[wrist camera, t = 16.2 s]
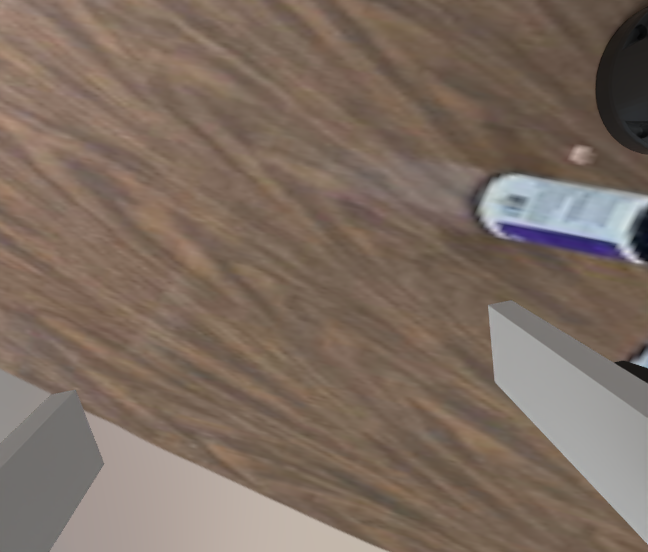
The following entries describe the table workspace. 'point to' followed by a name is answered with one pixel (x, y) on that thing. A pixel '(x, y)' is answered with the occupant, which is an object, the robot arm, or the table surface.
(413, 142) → the table surface
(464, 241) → the table surface
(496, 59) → the table surface
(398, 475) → the table surface
